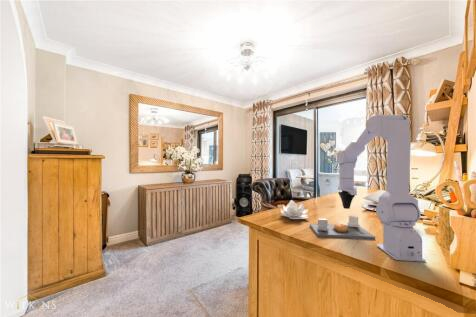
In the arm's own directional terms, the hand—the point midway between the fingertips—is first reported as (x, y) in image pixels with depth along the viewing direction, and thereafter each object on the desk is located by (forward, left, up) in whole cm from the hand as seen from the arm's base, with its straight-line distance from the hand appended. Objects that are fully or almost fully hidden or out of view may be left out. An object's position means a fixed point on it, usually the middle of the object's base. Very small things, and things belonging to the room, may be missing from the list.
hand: (346, 208), depth 87 cm
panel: (-11, +7, -7) cm, 15 cm away
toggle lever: (-7, 0, -6) cm, 9 cm away
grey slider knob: (-13, +14, -6) cm, 20 cm away
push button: (-12, +7, -7) cm, 15 cm away
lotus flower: (+7, +22, -8) cm, 24 cm away
